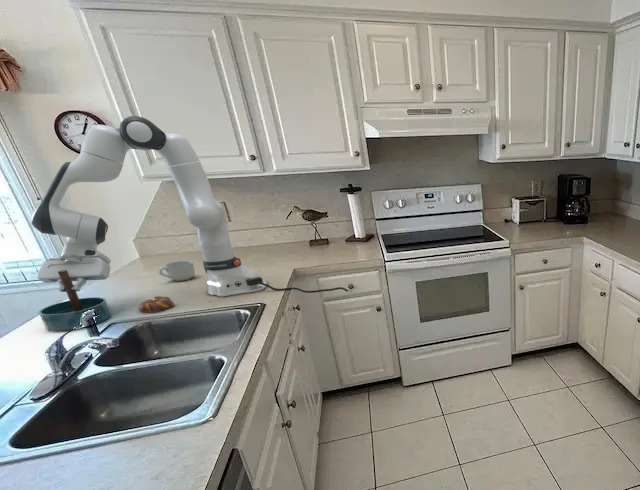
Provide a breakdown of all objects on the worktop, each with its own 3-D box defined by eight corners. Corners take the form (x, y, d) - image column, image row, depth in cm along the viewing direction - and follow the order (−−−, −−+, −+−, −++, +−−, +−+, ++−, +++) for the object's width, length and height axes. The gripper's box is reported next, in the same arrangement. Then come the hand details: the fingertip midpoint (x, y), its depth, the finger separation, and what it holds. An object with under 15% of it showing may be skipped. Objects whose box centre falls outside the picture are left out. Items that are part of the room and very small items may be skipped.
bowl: (120, 310, 159) (114, 295, 157) (98, 328, 144) (91, 311, 142) (64, 316, 154) (57, 300, 151) (34, 335, 139) (26, 317, 136)
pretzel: (141, 306, 163) (138, 297, 162) (175, 300, 169) (172, 292, 168) (138, 316, 154) (134, 306, 153) (174, 309, 160) (171, 300, 159)
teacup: (193, 274, 203) (188, 258, 200) (200, 278, 197) (195, 262, 194) (158, 281, 193) (153, 264, 190) (165, 285, 187) (159, 269, 184)
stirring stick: (91, 310, 152) (73, 268, 146) (84, 314, 148) (66, 271, 142) (76, 312, 151) (57, 269, 145) (69, 316, 147) (50, 273, 141)
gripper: (37, 254, 146) (26, 289, 141) (103, 251, 150) (95, 285, 145) (52, 263, 152) (42, 296, 147) (116, 260, 156) (108, 292, 150)
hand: (69, 290), depth 146 cm, fingers closed on stirring stick, 2 cm apart
